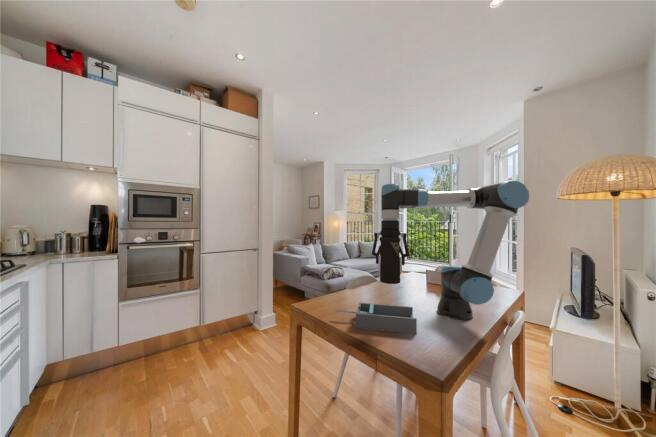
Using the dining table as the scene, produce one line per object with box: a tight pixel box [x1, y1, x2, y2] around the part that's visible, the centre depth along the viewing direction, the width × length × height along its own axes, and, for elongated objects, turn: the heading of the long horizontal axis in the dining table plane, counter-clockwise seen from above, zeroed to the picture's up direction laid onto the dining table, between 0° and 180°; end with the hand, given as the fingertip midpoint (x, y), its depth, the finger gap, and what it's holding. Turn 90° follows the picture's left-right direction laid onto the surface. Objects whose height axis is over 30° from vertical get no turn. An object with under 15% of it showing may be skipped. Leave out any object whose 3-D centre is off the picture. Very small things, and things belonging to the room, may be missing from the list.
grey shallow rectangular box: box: [355, 302, 418, 335], centre depth 103 cm, size 24×14×6 cm, turn 77°
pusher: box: [335, 303, 375, 314], centre depth 106 cm, size 16×11×5 cm
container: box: [378, 236, 401, 285], centre depth 103 cm, size 9×9×20 cm
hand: (390, 272), depth 103 cm, fingers closed on container, 8 cm apart
